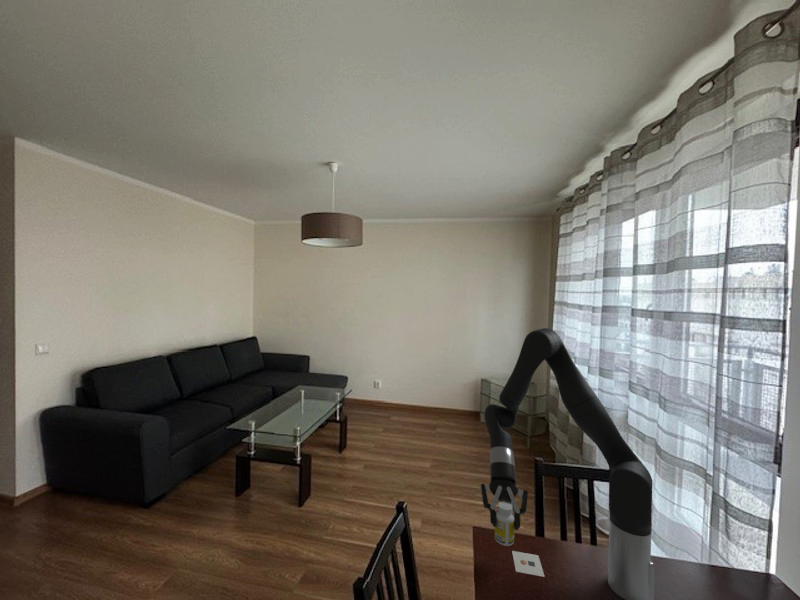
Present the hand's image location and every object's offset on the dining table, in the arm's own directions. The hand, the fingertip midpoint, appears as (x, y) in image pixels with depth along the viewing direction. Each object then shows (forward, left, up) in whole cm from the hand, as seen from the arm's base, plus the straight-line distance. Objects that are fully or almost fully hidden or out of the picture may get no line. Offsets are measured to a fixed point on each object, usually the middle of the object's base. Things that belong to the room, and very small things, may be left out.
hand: (505, 527), depth 93 cm
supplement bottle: (0, -2, -5) cm, 5 cm away
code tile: (-7, -5, -12) cm, 15 cm away
